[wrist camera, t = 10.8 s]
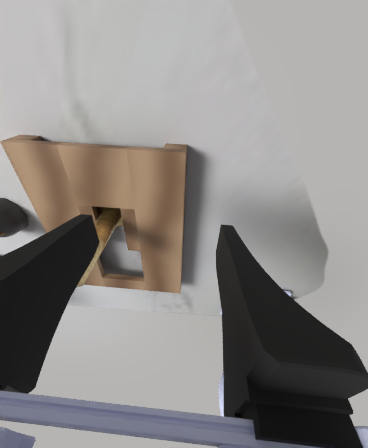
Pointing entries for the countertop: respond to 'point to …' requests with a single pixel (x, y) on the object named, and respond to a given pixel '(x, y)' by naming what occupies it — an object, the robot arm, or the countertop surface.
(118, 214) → the peg
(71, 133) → the countertop surface
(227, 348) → the robot arm
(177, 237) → the keyhole plate
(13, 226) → the wooden tabletop sculpture
